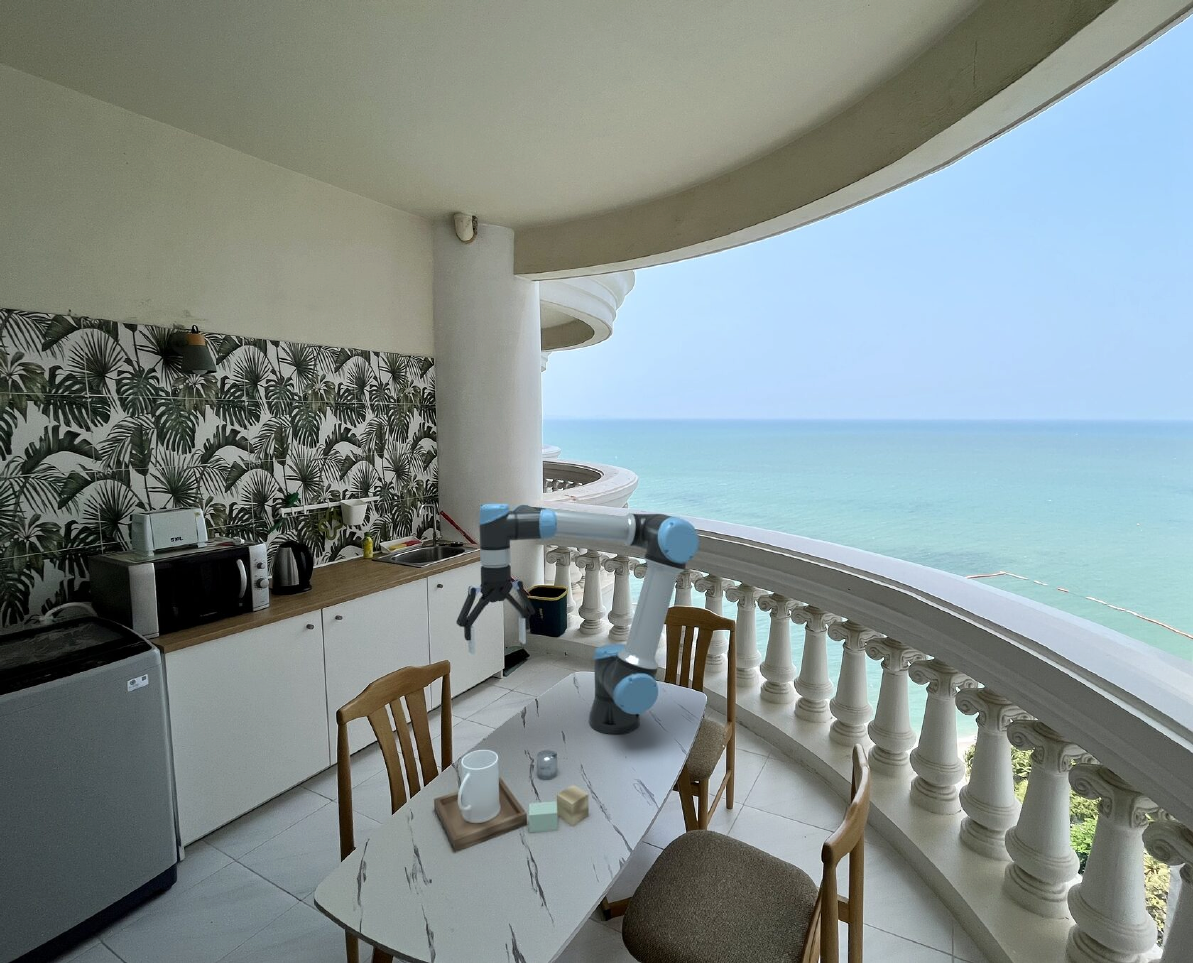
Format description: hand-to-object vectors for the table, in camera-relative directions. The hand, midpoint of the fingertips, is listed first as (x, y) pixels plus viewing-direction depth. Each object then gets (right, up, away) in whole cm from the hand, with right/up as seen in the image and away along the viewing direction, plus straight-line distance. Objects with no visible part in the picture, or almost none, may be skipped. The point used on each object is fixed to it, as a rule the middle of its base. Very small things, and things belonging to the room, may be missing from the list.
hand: (497, 647), depth 142 cm
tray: (-1, -33, -18) cm, 37 cm away
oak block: (+20, -32, -18) cm, 42 cm away
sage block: (+14, -33, -21) cm, 41 cm away
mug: (-1, -32, -19) cm, 37 cm away
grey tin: (+13, -32, -2) cm, 34 cm away
